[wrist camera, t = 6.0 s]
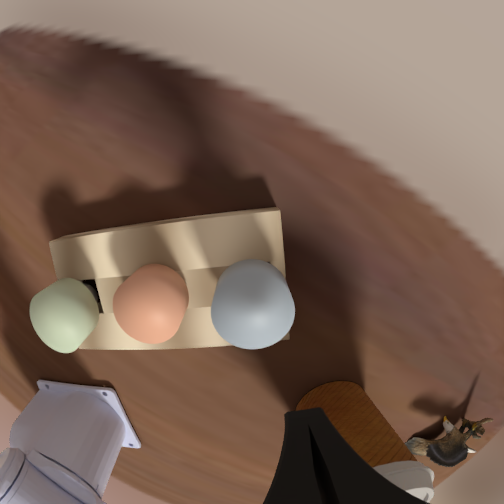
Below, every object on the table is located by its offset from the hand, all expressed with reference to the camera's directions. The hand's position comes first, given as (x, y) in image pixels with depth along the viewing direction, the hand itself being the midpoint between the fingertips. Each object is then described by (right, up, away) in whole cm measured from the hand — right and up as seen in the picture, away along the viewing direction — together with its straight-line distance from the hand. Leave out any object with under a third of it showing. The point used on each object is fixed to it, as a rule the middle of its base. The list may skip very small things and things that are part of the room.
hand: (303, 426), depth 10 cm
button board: (-7, +5, +9) cm, 13 cm away
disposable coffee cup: (+5, -7, +13) cm, 15 cm away
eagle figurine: (+20, -14, +15) cm, 28 cm away
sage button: (-13, +4, +8) cm, 16 cm away
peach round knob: (-8, +5, +9) cm, 12 cm away
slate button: (-2, +5, +8) cm, 9 cm away
